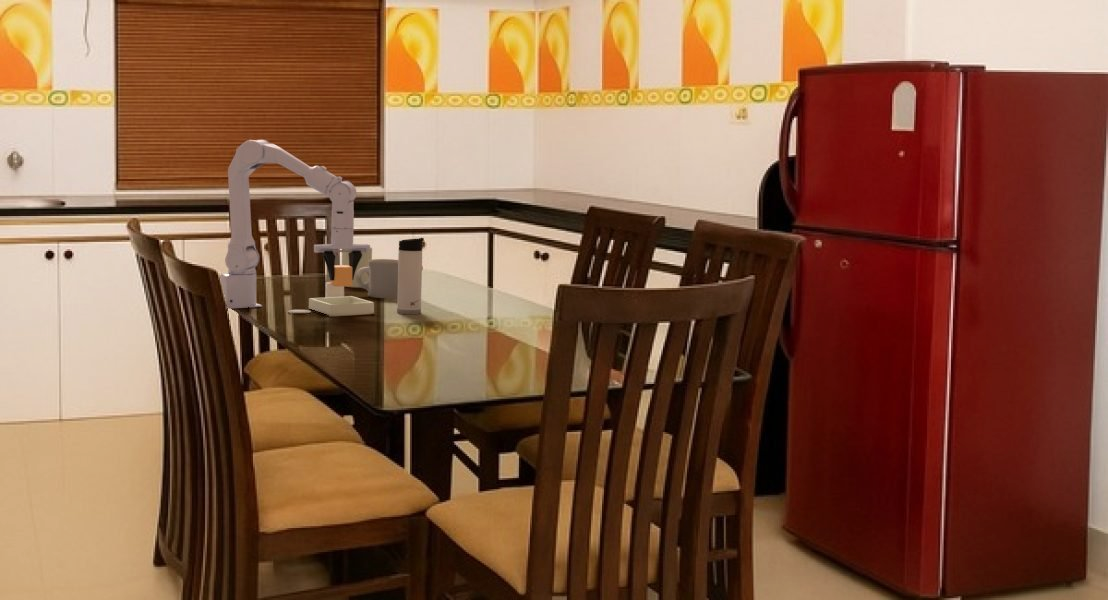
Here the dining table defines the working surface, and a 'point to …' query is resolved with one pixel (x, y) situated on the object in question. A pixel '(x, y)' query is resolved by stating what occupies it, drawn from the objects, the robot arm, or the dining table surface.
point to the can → (362, 263)
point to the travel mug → (409, 276)
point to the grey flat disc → (299, 311)
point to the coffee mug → (380, 278)
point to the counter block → (342, 275)
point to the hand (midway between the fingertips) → (341, 279)
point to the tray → (341, 306)
